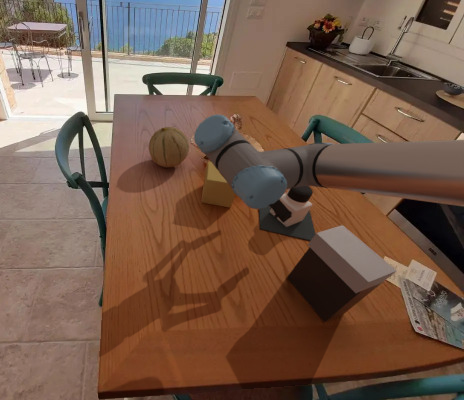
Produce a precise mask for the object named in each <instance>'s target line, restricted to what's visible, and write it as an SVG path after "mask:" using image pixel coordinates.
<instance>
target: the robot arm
mask: <svg viewBox="0 0 464 400" xmlns="http://www.w3.org/2000/svg"><path fill="white" fill-rule="evenodd" d="M193 139H194V140H193V141H194V144H195V145H196V146H197V147H198V148H199V150H200V152H201V153H202V154H204V155H205V156H206V158H208V160H209V161H210V162H212V163H213V165H214V166H215V167H216V169H217V170H218V171H219V173H220V174H221V175H222V176H223V177H224V179H225V180H226V181H227V183H228V184H229V185H230V187H231V188H232V189H233V191H234V193H235V194H236V195H235V196H237V197H238V198H239V199H240V200H241V201H242V202H243V203H244V204H245V205H246V206H247V207H248V208H250V209H253V210H259V209H261V208H265V207H267V206H268V205H269V206H270V207H271V208H272V209H273V210H274V213H275V215H274V216H275V217H276V218H278V217H279V218H280V220H281V221H282V222H283V223H284V222H285V221H286V220H288V219H289V218H290V217H292V215H291V214H292V212H291V211H289V210H288V209H287V208H286V206H285V205H284V204H283V203H282V202H281V201H280V200H279V199H280V198H281V197H282V196H283V194H285V193H286V192H287V190H288V189H290V188H295V187H301V186H309V187H316V188H322V189H333V190H338V191H339V190H340V191H348V192H353V193H354V192H355V193H362V194H368V195H377V196H384V197H391V198H398V199H404V200H405V199H406V200H414V201H420V202H426V203H427V202H428V203H434V204H435V203H436V204H443V205H451V206H457V207H464V139H446V140H445V139H444V140H441V139H440V140H413V141H387V142H386V141H385V142H382V141H381V142H356V143H355V142H354V143H332V142H316V143H315V142H314V143H309V144H305V145H299V146H298V145H297V146H293V147H285V148H278V149H270V150H263V151H259V150H258V149H256V147H255V146H254V145H252V143H251V142H249V141H248V140H247V139H246V138H245V137H244V136H243V135H242V134H241V133H240V132H239V131H238V129H237V128H236V127H235V125H234V123H233V122H232V121H230V119H229V118H228V117H227V116H225V115H224V114H218V113H217V114H213V115H210V116H208V117H206V118H204V119H203V120H202V122H200V123H199V124H198V125H197V127H196V129H195V131H194V136H193Z"/></svg>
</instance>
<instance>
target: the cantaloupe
mask: <svg viewBox="0 0 464 400" xmlns="http://www.w3.org/2000/svg"><path fill="white" fill-rule="evenodd" d="M189 152H190V142H189V139H188V137H187V136H186V134H185V133H184V132H183V131H182V130H181V129H180V128H177V127H175V126H166V127H161V128H159V129H157V130H156V131H155V132H154V133H153V134H152V136H151V137H150V139H149V143H148V153H149V155H150V158H151V159H152V161H153V162H154V163H155V164H156V165H158V166H160V167H162V168H176V167H177V166H180V165H181V164H182V163H183V162H184V161H185V160H186V159H187V157H188V155H189Z"/></svg>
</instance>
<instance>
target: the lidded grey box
mask: <svg viewBox="0 0 464 400" xmlns="http://www.w3.org/2000/svg"><path fill="white" fill-rule="evenodd" d="M307 246H308V248H307V250H306V251H305V252H304V254H303V255H302V257H301V258H300V259H299V261H298V262H297V263H296V264H295V265H294V267H293V268H292V270H291V271H290V273H289V274H288V275H287V277H286V278H287V280H288V281H289V282H290V283H291V285H293V287H294V288H295V289H296V291H297V292H298V293H299V294H300V295H301V296H302V298H303V299H304V300H305V302H307V304H308V305H309V307H311V309H312V310H313V311H314V312H315V313H316V315H317V316H318V317H319V318H320V319H321V320H322V322H323V323H326V322H329V321H331V320H333V319H336V318H338V317H340V316H343V315H345V314H346V313H347V312H348V311H349V310H350V309H352V308H353V307H354V306H355V305H357V304H358V303H359V302H360V301H362V300H363V299H364V298H366V297H367V296H368V295H369V294H370V293H372V292H373V291H374V290H375V289H376V288H378V287H379V286H380V285H381V284H383V283H384V282H385V281H386V280H388V279H389V278H390V277H391V276H393V275H394V274H395V273H396V272H397V271H398V270H396V268H394V267H393V266H392V265H391V264H389V263H388V262H387V261H386V260H385V259H384V258H382V257H381V256H380V255H379V254H378V253H377V252H376V251H374V250H373V249H372V248H371V247H370V246H368V245H367V244H366V243H365V242H364V241H362V240H361V239H360V238H359V237H357V236H356V235H355V234H354V233H353V232H351V231H350V230H349V229H348V228H347V227H345V225H343V224H341V225H338V226H335V227H332V228H331V227H330V228H328V229H325V230H322V231H319V232H318V231H317V232H315V235H314V237H313V238H312V240H311V241H309V242H308V244H307Z"/></svg>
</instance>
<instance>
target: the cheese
mask: <svg viewBox="0 0 464 400" xmlns="http://www.w3.org/2000/svg"><path fill="white" fill-rule="evenodd" d="M236 196H237V195H236V194H235V193H234V191H233V189H232V188H231V187H230V185H229V184H228V183H227V181H226V180H225V179H224V177H223V176H222V175H221V174H220V173H219V171H218V170H217V169H216V167H215V166H214V165H213V163H212V162H211V161H210V160H209V161H207V163H206V165H205V169H204V178H203V185H202V190H201V200H200V202H201V203H202V204H208V205H213V206H220V207H224V208H229V209H231V208H232V206H233V203H234V201H235V198H236Z"/></svg>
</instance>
